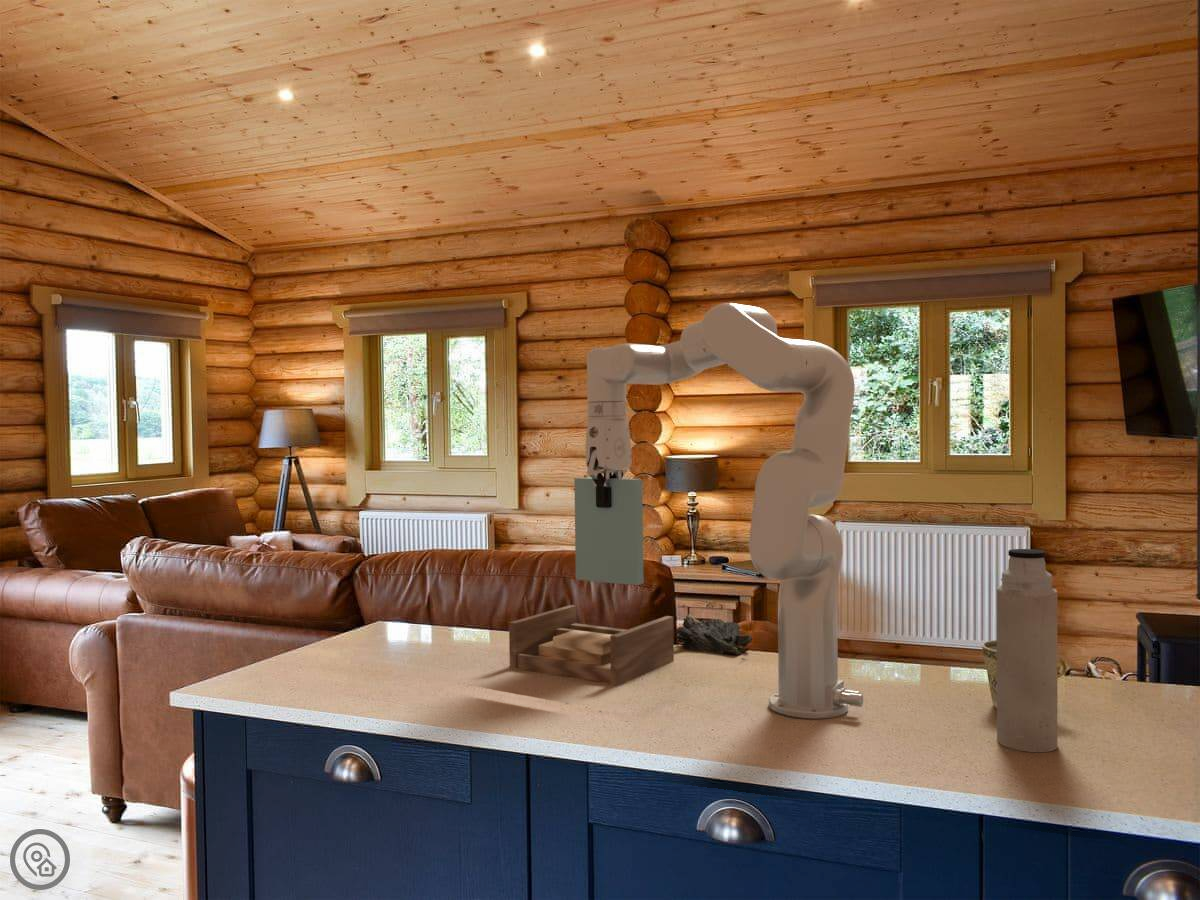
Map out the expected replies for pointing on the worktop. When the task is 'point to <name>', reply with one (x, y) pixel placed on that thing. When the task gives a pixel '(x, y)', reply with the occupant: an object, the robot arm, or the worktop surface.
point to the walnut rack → (628, 647)
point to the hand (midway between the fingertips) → (608, 506)
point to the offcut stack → (579, 648)
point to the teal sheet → (609, 532)
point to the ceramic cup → (991, 667)
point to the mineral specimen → (712, 636)
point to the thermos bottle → (1027, 654)
